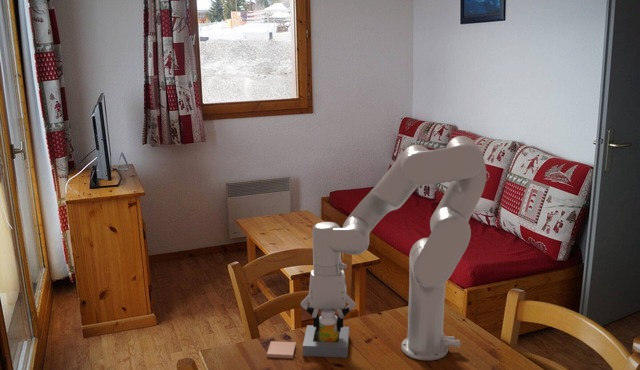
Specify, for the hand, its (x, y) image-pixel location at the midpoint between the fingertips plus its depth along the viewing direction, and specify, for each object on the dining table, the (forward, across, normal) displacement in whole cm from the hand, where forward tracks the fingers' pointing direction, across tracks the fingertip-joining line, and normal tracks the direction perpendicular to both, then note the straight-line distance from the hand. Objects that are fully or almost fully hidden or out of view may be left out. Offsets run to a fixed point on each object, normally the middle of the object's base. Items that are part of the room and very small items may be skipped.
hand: (328, 328), depth 178 cm
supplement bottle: (+4, 0, 0) cm, 4 cm away
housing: (+5, +1, 0) cm, 5 cm away
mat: (+5, +13, +4) cm, 14 cm away
